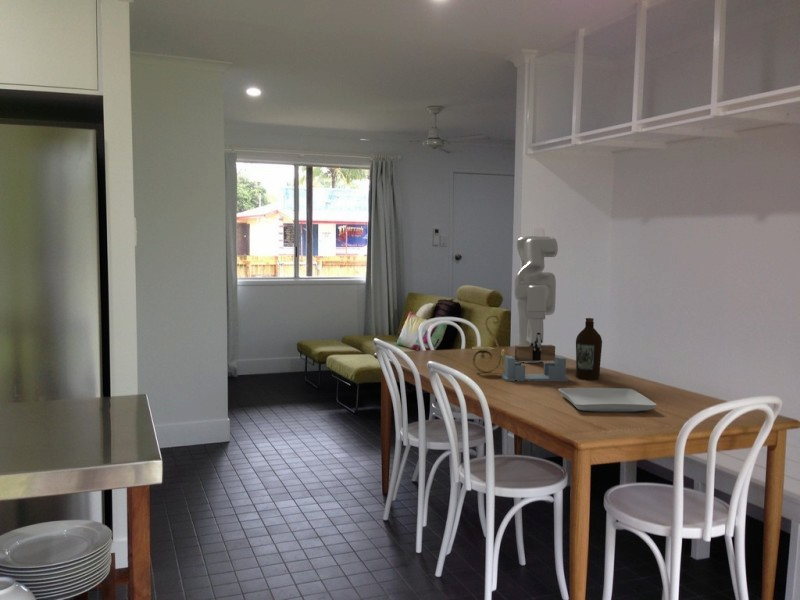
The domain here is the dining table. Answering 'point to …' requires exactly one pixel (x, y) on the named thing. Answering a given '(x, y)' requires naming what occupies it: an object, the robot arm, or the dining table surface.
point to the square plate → (607, 399)
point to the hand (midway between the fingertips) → (534, 359)
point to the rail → (527, 352)
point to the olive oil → (588, 352)
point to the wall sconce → (486, 349)
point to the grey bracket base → (551, 373)
